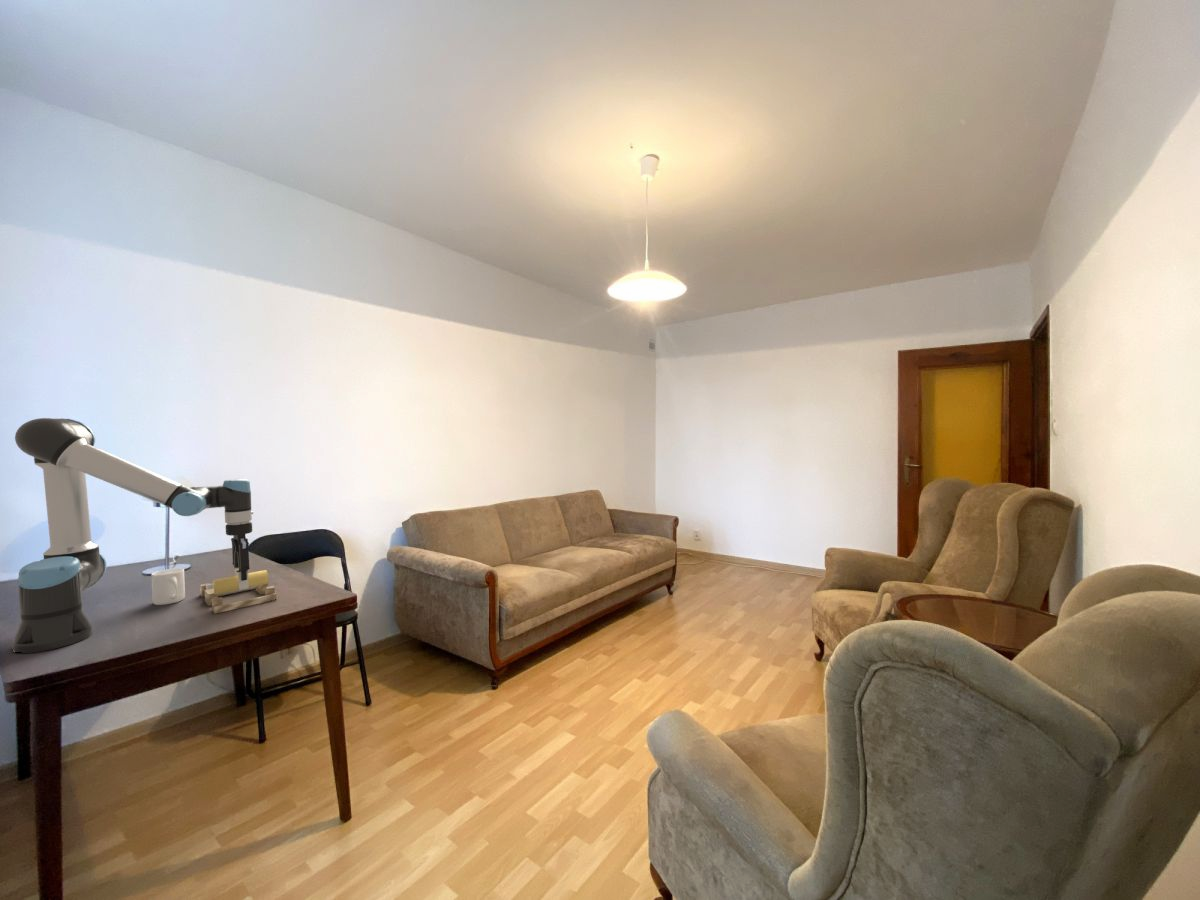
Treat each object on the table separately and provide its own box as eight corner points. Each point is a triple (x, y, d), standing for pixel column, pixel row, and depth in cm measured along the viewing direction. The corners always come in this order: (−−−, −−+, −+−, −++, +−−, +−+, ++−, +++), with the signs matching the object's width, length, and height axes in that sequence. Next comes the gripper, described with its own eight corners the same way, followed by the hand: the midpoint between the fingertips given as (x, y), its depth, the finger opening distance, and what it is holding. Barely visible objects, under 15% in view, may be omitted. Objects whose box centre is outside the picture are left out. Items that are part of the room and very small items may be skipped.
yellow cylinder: (216, 593, 161) (214, 578, 162) (214, 595, 164) (212, 581, 165) (269, 582, 172) (266, 568, 173) (265, 584, 175) (263, 571, 177)
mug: (160, 609, 162) (159, 578, 161) (149, 602, 168) (147, 572, 168) (192, 601, 169) (191, 571, 168) (180, 595, 175) (179, 566, 175)
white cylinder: (208, 599, 171) (208, 585, 171) (206, 597, 174) (205, 584, 174) (258, 588, 182) (258, 575, 182) (255, 587, 185) (254, 574, 185)
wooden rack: (214, 613, 158) (214, 601, 157) (200, 594, 176) (199, 584, 175) (276, 599, 171) (276, 588, 170) (257, 583, 189) (256, 573, 188)
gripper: (258, 524, 165) (261, 590, 166) (245, 518, 177) (248, 579, 178) (231, 527, 159) (234, 595, 160) (220, 521, 171) (223, 584, 172)
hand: (241, 587), depth 169 cm, fingers closed on yellow cylinder, 5 cm apart
